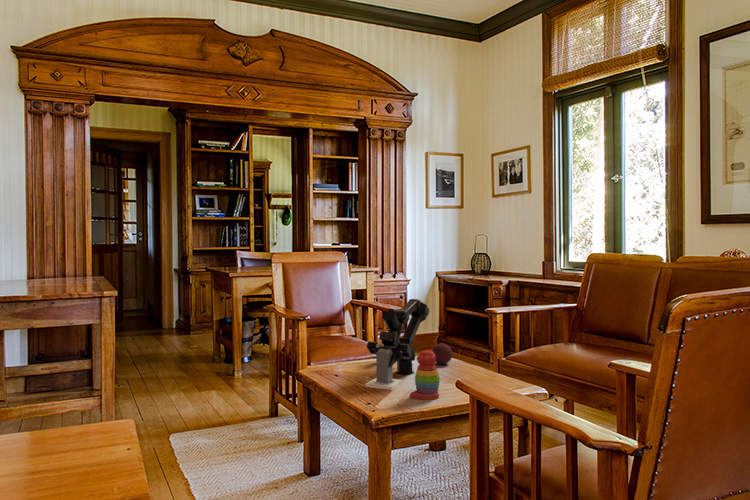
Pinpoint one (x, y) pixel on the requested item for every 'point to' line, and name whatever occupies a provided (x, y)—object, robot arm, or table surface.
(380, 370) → the plug
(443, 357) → the decorative ball
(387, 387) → the socket
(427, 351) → the stacking bear
